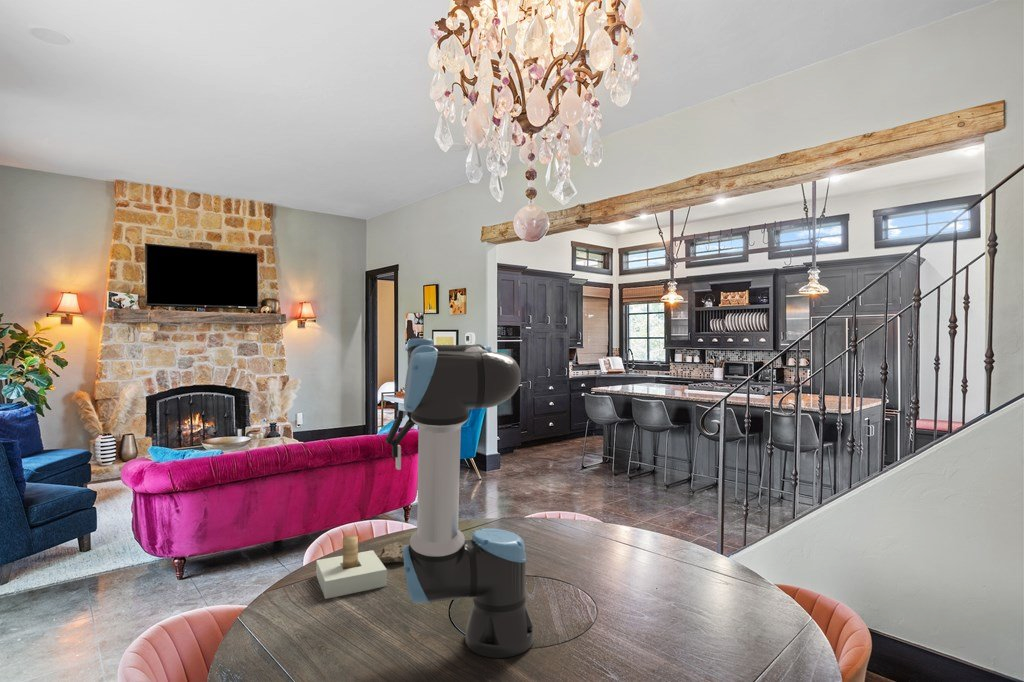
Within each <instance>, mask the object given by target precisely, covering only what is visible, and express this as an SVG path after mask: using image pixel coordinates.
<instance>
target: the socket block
mask: <svg viewBox="0 0 1024 682" xmlns="http://www.w3.org/2000/svg"><path fill="white" fill-rule="evenodd" d="M315 569H316V570H315V571H316V578H317V581H318V585H319V586H320V588H321V592H322V594H323V597H324V600H327V599H331V598H337V597H341V596H346V595H351V594H355V593H359V592H360V593H361V592H366V591H370V590H374V589H379V588H382V587H383V588H384V587H387V586H388V580H387V579H388V573H387V572H388V570H387V568H386V566H385V565H384V562H381V561H380V559H379V556H378V555H377V554H376V553H375V551H374V549H373V550H367V551H361V552H358V567H355V568H349V569H344V570H343V555H339V556H334V557H328V558H322V559H316V568H315Z"/></svg>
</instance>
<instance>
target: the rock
mask: <svg viewBox="0 0 1024 682" xmlns="http://www.w3.org/2000/svg"><path fill="white" fill-rule="evenodd" d="M407 545H408V544H402V543H401V542H398V541H396V542H393V543H390V544H386V545H385V546H384V547H383V548H382V551H381V553H380V554H379V556H378V558H379V559H380V561H381V562H382V563H383V564H384V563H386V564H389V563H390V562H391V563H398V562H400V563H401V562H404V558H403V547H405V546H407Z"/></svg>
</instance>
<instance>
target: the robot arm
mask: <svg viewBox="0 0 1024 682" xmlns="http://www.w3.org/2000/svg"><path fill="white" fill-rule="evenodd" d="M406 351H407V370H406V374H405V375H406V377H405V381H404V382H405V383H404V394H403V409H404V410H402V409H398V410H397V411H396V413H395V414H396V415H395V416H396V417H395V419H394V421H393V424H392V425H391V428H390V430H389V432H388V433H387V434H388V435H387V436H386V438H385V441H384V442H385V443H386V444H387V445H390V446H391V456H392V457H393V458H395V469H396V470H398V471H400V470H402V446H401V445H400V443H401V442H402V440H403V439H404V438H405V437H406V435H407V434H408V433H409V431H411V429H412V428H413V427H414V426H415V425H416V426H418V443H417V445H418V447H417V449H418V450H417V513H416V514H417V515H416V516H417V519H416V521H417V523H416V525H417V527H416V528H417V530H415V531H414V533H412V534H411V536H410V539H409V544H406V545H407V546H405V547H403V558H404V561H403V565H404V571H405V581H406V587H407V588H406V589H407V593H408V599H409V600H410V601H411V602H412V603H414V604H432V603H437V602H445V601H451V600H452V601H453V600H461V599H468V598H472V603H473V604H472V607H471V611H470V613H469V618H468V621H467V624H466V626H465V645H466V647H468V649H469V650H470V651H472V652H473V653H475V654H476V655H480V656H482V657H486V658H492V659H495V658H496V659H503V658H511V657H516V656H518V655H520V654H523V653H525V652H526V651H528V650H529V649H530V648H531V647H532V646H533V644H534V641H535V631H534V630H535V629H534V625H533V621H532V618H531V615H530V613H529V610H528V607H527V601H526V599H527V598H526V594H527V593H526V591H527V589H526V587H527V586H526V562H527V555H526V545H525V542H524V539H523V538H522V537H521V536H519V534H516V533H514V532H512V531H510V530H506V529H500V528H493V527H491V528H480V529H477V530H475V531H474V532H473V533H472V536H471V539H466V538H465V535H464V534H463V532H462V531H461V530H460V529H459V511H460V509H459V504H460V503H459V501H460V477H461V476H460V472H461V471H460V470H461V469H460V468H461V441H462V440H461V435H462V434H461V432H462V428H461V427H462V426H463V425H464V424H465V423H467V421H468V420H469V417H470V410H476V409H488V408H493V407H497V406H498V405H501V404H503V403H505V402H506V401H508V400H510V398H511V397H513V396H514V395H515V393H516V392H517V391H518V389H519V387H520V384H521V381H522V374H521V368H520V365H518V362H517V361H516V360H515V359H514V358H513V357H512V356H510V355H509V354H505V353H503V352H497V351H496V352H494V351H493V350H492V347H491V346H490V345H488V344H480V343H478V344H435V341H434V339H432V338H424V337H423V338H409V339H408V342H407V348H406ZM406 416H407V418H408V419H407V421H406V422H405V424H404V425H403V427H402V428H401V429H400V426H401V424H402V422H403V419H405V417H406ZM398 429H400V431H399V432H398ZM397 432H398V434H397ZM465 539H466V540H465Z"/></svg>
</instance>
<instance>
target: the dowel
mask: <svg viewBox="0 0 1024 682" xmlns="http://www.w3.org/2000/svg"><path fill="white" fill-rule="evenodd" d="M358 553H359V536H358V535H355V534H350V535H346V536H343V538H342V556H343V570H344V569H349V568H355V567H358Z"/></svg>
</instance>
